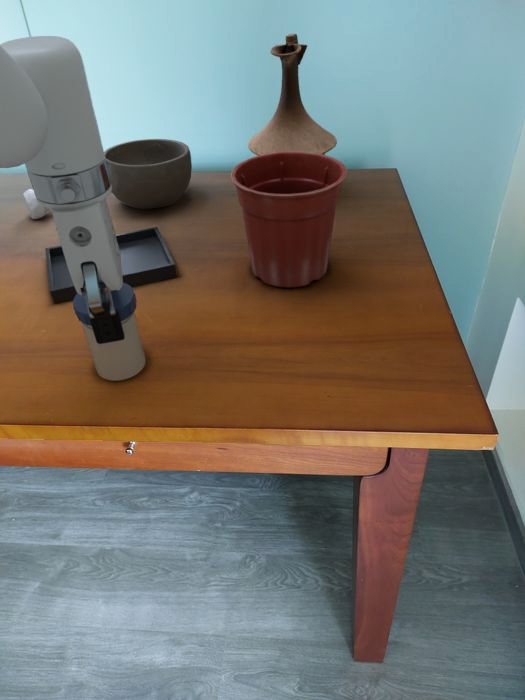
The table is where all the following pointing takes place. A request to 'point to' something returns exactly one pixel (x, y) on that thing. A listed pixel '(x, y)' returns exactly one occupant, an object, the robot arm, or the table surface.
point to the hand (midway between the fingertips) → (110, 320)
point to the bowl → (149, 172)
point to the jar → (118, 352)
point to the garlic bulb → (34, 205)
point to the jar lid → (121, 299)
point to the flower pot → (289, 213)
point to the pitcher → (291, 112)
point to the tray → (136, 258)
